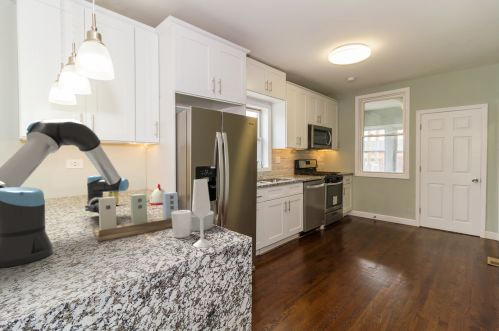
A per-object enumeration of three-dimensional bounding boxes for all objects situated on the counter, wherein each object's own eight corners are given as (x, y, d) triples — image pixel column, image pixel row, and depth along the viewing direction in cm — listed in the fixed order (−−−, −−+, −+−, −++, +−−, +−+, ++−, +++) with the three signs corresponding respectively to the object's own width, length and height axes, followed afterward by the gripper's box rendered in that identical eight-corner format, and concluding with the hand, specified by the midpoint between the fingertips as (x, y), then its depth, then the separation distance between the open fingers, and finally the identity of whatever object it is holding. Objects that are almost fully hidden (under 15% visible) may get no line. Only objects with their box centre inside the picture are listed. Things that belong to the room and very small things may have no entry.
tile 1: (99, 229, 105) (98, 198, 105) (115, 227, 109) (113, 196, 109) (101, 231, 102) (99, 199, 102) (116, 228, 106) (115, 197, 106)
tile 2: (131, 224, 113) (130, 194, 113) (144, 221, 117) (144, 193, 117) (133, 225, 110) (132, 195, 110) (147, 223, 114) (146, 194, 114)
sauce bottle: (107, 206, 175) (106, 179, 174) (116, 205, 179) (116, 178, 179) (110, 207, 170) (109, 179, 170) (120, 205, 175) (119, 178, 174)
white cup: (195, 235, 100) (194, 211, 100) (178, 239, 94) (177, 214, 94) (185, 231, 105) (184, 209, 105) (168, 236, 100) (167, 212, 99)
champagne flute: (205, 239, 93) (203, 178, 93) (215, 244, 88) (213, 179, 88) (189, 244, 89) (187, 179, 88) (199, 248, 84) (197, 180, 83)
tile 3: (163, 221, 117) (162, 193, 117) (175, 219, 121) (174, 191, 121) (166, 223, 114) (165, 193, 114) (178, 220, 118) (177, 192, 117)
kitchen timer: (150, 206, 171) (150, 185, 171) (148, 203, 183) (147, 184, 183) (170, 204, 178) (170, 184, 178) (167, 201, 190) (166, 182, 190)
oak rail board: (93, 232, 107) (93, 223, 107) (172, 219, 130) (171, 211, 130) (98, 241, 95) (97, 231, 95) (184, 224, 117) (183, 216, 117)
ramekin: (179, 229, 109) (178, 214, 109) (200, 223, 120) (199, 209, 120) (200, 234, 102) (199, 217, 101) (220, 226, 112) (219, 211, 112)
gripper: (111, 209, 135) (120, 216, 117) (83, 213, 127) (88, 221, 109) (111, 196, 135) (119, 201, 117) (83, 199, 127) (87, 205, 108)
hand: (104, 211), depth 113 cm, fingers closed
